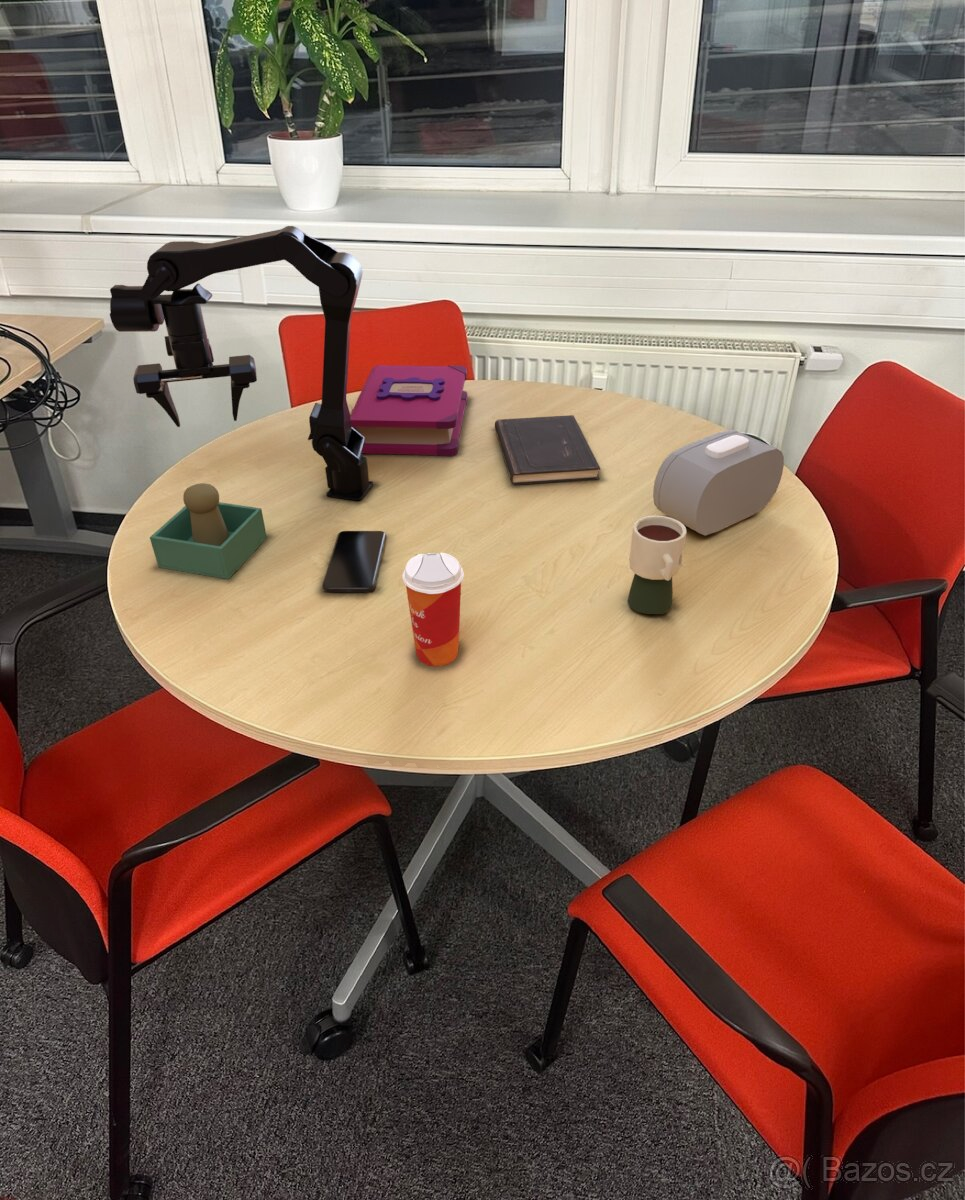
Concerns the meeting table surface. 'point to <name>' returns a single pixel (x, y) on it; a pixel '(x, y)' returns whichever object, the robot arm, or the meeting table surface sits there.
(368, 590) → the smartphone
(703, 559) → the meeting table surface
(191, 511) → the brown pawn
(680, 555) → the character mug
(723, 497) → the alarm clock
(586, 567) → the meeting table surface
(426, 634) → the paper cup
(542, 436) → the hardcover book
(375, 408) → the book
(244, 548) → the tote
